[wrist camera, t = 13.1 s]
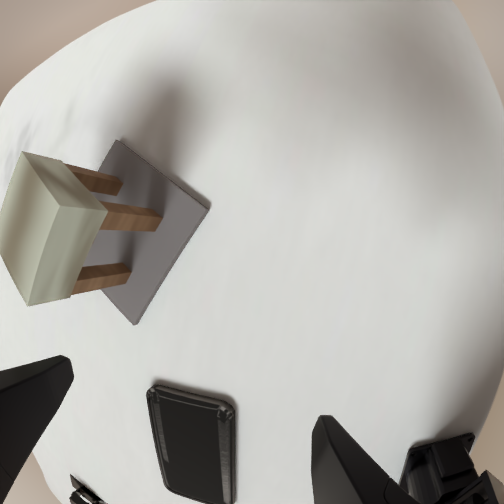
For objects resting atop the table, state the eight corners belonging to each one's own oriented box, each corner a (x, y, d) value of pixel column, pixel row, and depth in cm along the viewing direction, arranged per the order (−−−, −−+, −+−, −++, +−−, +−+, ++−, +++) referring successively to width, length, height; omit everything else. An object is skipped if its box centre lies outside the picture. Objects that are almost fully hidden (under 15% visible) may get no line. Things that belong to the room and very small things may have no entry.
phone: (232, 407, 19) (232, 511, 19) (236, 400, 20) (235, 504, 21) (143, 384, 21) (164, 489, 21) (150, 379, 22) (169, 484, 23)
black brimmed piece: (68, 480, 30) (54, 491, 26) (65, 464, 29) (49, 475, 25) (120, 521, 27) (107, 534, 23) (121, 508, 26) (107, 523, 22)
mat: (209, 210, 19) (206, 209, 19) (137, 324, 21) (133, 325, 21) (119, 141, 21) (115, 139, 21) (67, 243, 23) (64, 243, 23)
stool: (164, 217, 20) (59, 205, 11) (125, 285, 21) (27, 306, 12) (115, 174, 21) (21, 151, 12) (83, 238, 22) (-7, 239, 13)
